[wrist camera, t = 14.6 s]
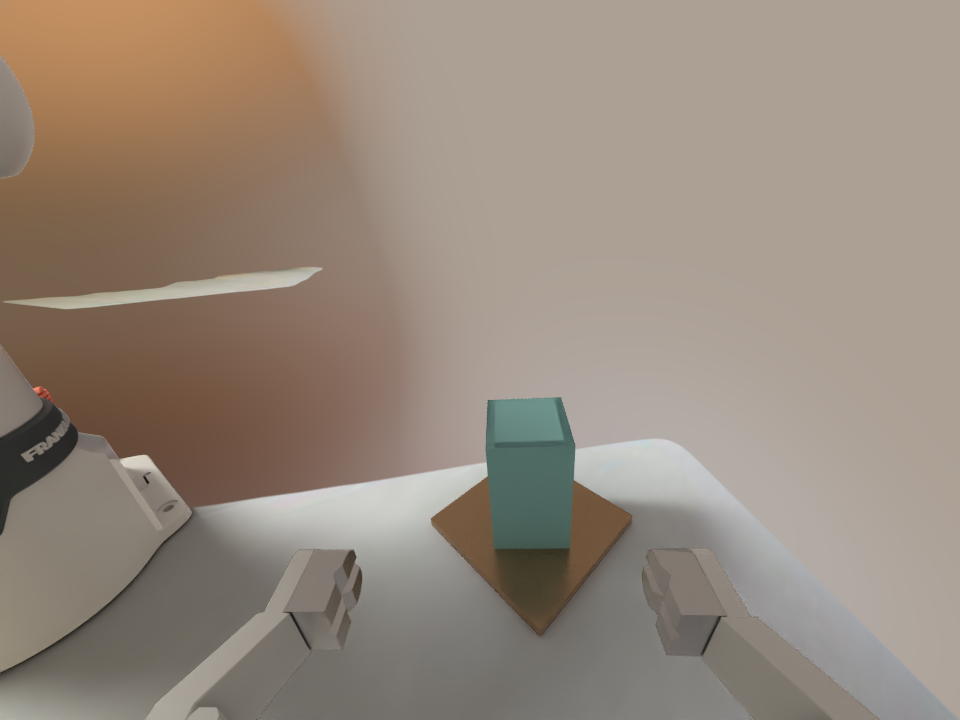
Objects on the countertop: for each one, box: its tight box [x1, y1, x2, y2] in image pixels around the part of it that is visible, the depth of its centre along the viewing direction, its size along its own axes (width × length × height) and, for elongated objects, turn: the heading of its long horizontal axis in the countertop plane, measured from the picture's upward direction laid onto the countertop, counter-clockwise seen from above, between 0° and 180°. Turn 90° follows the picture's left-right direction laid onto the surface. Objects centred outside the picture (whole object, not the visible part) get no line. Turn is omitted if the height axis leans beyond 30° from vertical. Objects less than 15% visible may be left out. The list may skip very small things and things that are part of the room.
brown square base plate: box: [431, 477, 632, 636], centre depth 29 cm, size 17×17×8 cm
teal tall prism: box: [486, 397, 575, 549], centre depth 28 cm, size 6×6×10 cm
